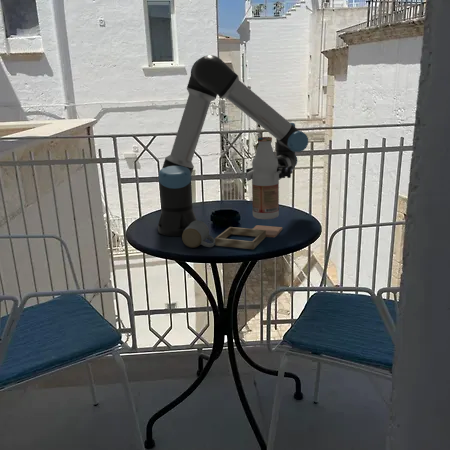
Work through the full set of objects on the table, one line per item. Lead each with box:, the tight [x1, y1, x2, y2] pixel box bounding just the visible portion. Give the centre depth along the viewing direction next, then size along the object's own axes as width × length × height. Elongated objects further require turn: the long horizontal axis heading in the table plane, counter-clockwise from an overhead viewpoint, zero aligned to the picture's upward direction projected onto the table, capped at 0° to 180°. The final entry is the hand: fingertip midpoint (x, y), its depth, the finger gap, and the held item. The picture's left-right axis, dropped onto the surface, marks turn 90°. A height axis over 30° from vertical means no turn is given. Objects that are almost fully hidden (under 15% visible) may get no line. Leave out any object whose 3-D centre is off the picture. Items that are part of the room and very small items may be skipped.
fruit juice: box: [251, 136, 280, 220], centre depth 160 cm, size 9×9×28 cm
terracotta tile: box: [252, 224, 283, 238], centre depth 166 cm, size 10×10×1 cm
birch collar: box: [214, 226, 267, 250], centre depth 157 cm, size 14×14×2 cm
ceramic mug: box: [181, 220, 215, 249], centre depth 154 cm, size 11×8×8 cm
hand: (261, 177), depth 156 cm, fingers closed on fruit juice, 9 cm apart
